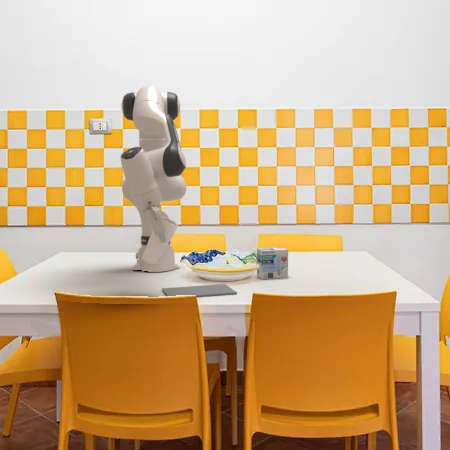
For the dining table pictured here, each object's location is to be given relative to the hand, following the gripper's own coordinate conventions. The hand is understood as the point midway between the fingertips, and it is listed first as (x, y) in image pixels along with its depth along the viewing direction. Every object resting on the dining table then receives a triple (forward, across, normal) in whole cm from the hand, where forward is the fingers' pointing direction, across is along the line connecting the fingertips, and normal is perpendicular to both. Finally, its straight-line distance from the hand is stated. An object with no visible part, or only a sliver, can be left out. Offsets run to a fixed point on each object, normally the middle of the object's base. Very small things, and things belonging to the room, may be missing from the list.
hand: (162, 238), depth 168 cm
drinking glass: (+6, 0, +7) cm, 9 cm away
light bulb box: (+33, +12, -34) cm, 49 cm away
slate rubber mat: (+20, -5, -5) cm, 21 cm away
